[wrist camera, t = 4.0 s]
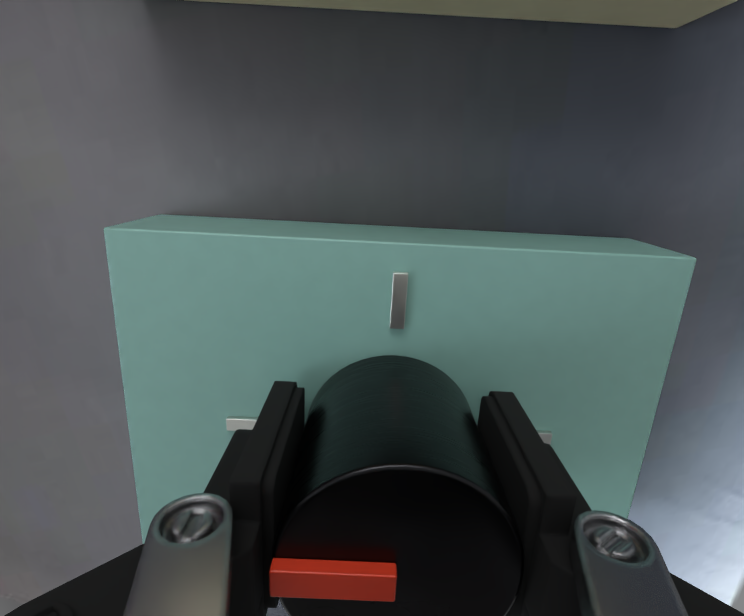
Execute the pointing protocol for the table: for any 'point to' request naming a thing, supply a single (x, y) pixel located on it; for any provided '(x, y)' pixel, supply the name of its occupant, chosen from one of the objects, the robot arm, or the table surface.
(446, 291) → the dial panel
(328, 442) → the knob
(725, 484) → the table surface
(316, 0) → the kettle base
